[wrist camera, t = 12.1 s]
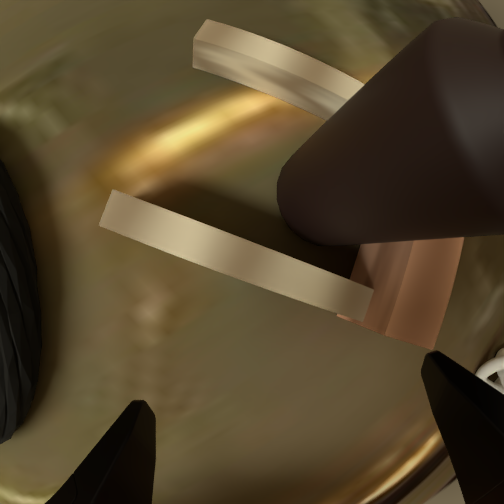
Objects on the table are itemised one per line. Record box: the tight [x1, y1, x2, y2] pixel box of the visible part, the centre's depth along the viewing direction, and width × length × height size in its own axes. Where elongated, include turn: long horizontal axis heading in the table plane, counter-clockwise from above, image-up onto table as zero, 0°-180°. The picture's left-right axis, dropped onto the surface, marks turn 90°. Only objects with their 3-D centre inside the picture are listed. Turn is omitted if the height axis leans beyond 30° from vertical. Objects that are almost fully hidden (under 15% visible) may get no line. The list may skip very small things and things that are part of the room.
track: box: [99, 19, 464, 350], centre depth 17 cm, size 20×15×6 cm
